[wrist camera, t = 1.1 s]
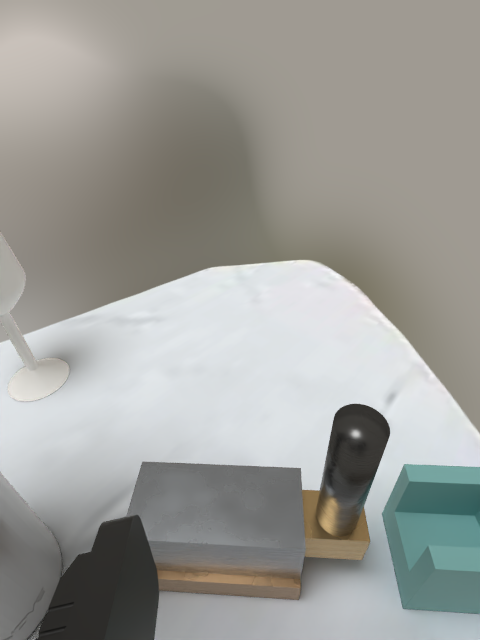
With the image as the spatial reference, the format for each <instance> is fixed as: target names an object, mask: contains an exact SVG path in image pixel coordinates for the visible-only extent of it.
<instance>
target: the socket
mask: <svg viewBox="0 0 480 640" xmlns="http://www.w3.org/2000/svg"><path fill="white" fill-rule="evenodd" d="M382 516H383V520H384V525H385V529H386V534H387V538H388V543H389V547H390V552H391V556H392V561H393V565H394V570H395V574H396V579H397V583H398V588H399V592H400V597H401V601H402V606H403V609H415V610H430V611H444V612H459V613H474V614H480V467H462V466H437V465H411V464H404V466H403V468H402V471H401V473H400V475H399V477H398V480H397V482H396V484H395V486H394V489H393V491H392V493H391V495H390V498H389V500H388V502H387V504H386V506H385V509H384V511H383V513H382Z"/></svg>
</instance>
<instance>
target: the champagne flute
mask: <svg viewBox="0 0 480 640" xmlns="http://www.w3.org/2000/svg"><path fill="white" fill-rule="evenodd" d="M25 281H26V276H25V271H24V270H23V268H22V266H21V265H20V263H19V262H18V260H17V258H16V256H15V255H14V253H13V252H12V250H11V248H10V247H9V245H8V243H7V242H6V240H5V238H4V237H3V235H2V233H1V232H0V322H1V324H2V326H3V328H4V330H5V331H6V333H7V335H8V336H9V338H10V340H11V342H12V344H13V345H14V347H15V349H16V351H17V352H18V354H19V356H20V358H21V359H22V361H23V363H24V364H25V366H24V367H23V368H21V369H20V370H19V371H17V372H16V373H15V374H14V376H13V377H12V378H11V380H10V382H9V384H8V393H9V395H10V396H11V397H12V398H13V399H15V400H18V401H26V402H27V401H34V400H38V399H41V398H44V397H46V396H48V395H50V394H52V393H53V392H55V391H56V390H58V389H59V388H60V387H61V386H62V385H63V384H64V383H65V381H66V380H67V378H68V375H69V366H68V364H67V363H66V362H65V361H63V360H61V359H57V358H45V359H40V360H37V361H36V360H35V358H34V356H33V354H32V352H31V350H30V349H29V347H28V345H27V343H26V341H25V339H24V337H23V336H22V334H21V332H20V330H19V328H18V326H17V325H16V323H15V321H14V319H13V317H12V315H11V313H10V312H9V311H10V310H11V309H12V308H13V307H14V306H15V304H16V303H17V301H18V300H19V298H20V297H21V295H22V293H23V290H24V287H25Z"/></svg>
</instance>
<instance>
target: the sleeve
mask: <svg viewBox="0 0 480 640" xmlns="http://www.w3.org/2000/svg"><path fill="white" fill-rule="evenodd" d="M132 515H138V516H139V517H140V519H141V521H142V524H143V527H144V530H145V533H146V536H147V540H148V543H149V546H150V549H151V552H152V555H153V558H154V562H155V565H156V568H157V574H158V582H159V590H160V591H175V592H190V593H204V594H219V595H234V596H249V597H264V598H278V599H293V600H299V595H300V590H301V582H300V578H301V573H302V568H303V562H304V557H305V551H306V545H305V529H304V513H303V497H302V482H301V468H283V467H259V466H234V465H210V464H186V463H161V462H142V465H141V468H140V472H139V475H138V478H137V482H136V485H135V489H134V492H133V496H132V499H131V503H130V506H129V509H128V513H127V516H126V517H128V516H132Z"/></svg>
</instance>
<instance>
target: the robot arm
mask: <svg viewBox="0 0 480 640" xmlns="http://www.w3.org/2000/svg"><path fill="white" fill-rule="evenodd" d="M61 570H62V556H61V552H60V547H59V544H58V542H57V540H56V538H55V537H54V535H53V534H52V533H51V531H50V530H49V529H48V528H47V527H46V525H45V524H44V523H43V522H42V521H41V520H40V518H39V517H38V516H37V515H36V513H35V512H34V511H33V510H32V509H31V507H30V506H29V505H28V504H27V503H26V502H25V500H24V499H23V498H22V497H21V496H20V495H19V493H18V492H17V491H16V490H15V489H14V488H13V486H12V485H11V484H10V483H9V482H8V481H7V479H6V478H5V477H4V476H3V475H2V473H1V472H0V640H26V639H27V638H28V637H29V636H30V635H31V634H32V633H33V631H34V630H35V629H36V627H37V626H38V624H39V623H40V622H41V620H42V619H43V618H44V616H45V618H44V620H43V623H42V625H41V628H40V630H39V637H38V639H36V640H154V635H155V627H156V618H157V610H158V601H159V582H158V574H157V568H156V565H155V562H154V558H153V555H152V552H151V549H150V546H149V543H148V540H147V536H146V533H145V530H144V527H143V524H142V521H141V519H140V517H139V516H138V515H132V516H128V517H124V518H119V519H115V520H111V521H106V522H103V523H102V524H101V526H100V528H99V530H98V533H97V536H96V539H95V542H94V545H93V548H92V551H91V552H89V553H85V554H80V555H78V556H77V558H76V559H75V560H74V562H73V563H72V564H71V565H70V567H69V568H68V569H67V571H66V572H65V573H64V575H63V576H62V577H61V579H60V575H61ZM48 609H49V611H48V613H47V614H46V612H47V610H48ZM45 614H46V615H45Z"/></svg>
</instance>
